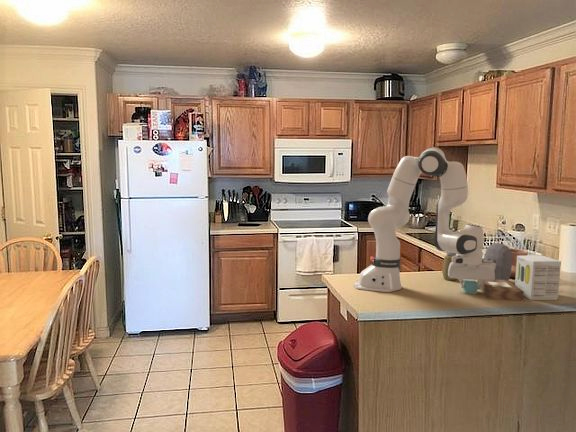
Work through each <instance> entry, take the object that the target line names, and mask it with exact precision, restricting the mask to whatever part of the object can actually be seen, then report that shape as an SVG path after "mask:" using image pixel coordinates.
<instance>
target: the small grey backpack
mask: <svg viewBox="0 0 576 432" xmlns="http://www.w3.org/2000/svg"><path fill="white" fill-rule="evenodd" d="M483 260H488V261H489V260H491V261H493V262H495V264H496V268H495V270H494V272H495V279H494V280H509V281H510V279H511V277H510V276H511V268H512V253H511V250H510V249H509V246H507V245H505V244H503V243H501V242H494V243H491V244H490V245H489V246H488V247H486V251H485V253H484V257H483Z"/></svg>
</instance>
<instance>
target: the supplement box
mask: <svg viewBox="0 0 576 432" xmlns="http://www.w3.org/2000/svg"><path fill="white" fill-rule="evenodd" d="M561 267H562V260H557V259H555V258H551V257H548V256H544V255H527V256H517V264H516V278H514V279H515V281H514V285H516V286H517V287H518V288H520V289H521V290H522V291H524V295H523V298H526V299H527V300H528V299H529V300H530V301H534V300H535V301H553V300H555V301H556V300H559V289H560V279H561V278H560V276H561Z"/></svg>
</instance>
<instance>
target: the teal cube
mask: <svg viewBox="0 0 576 432" xmlns="http://www.w3.org/2000/svg"><path fill="white" fill-rule="evenodd" d="M462 284H464V285H465V286H464V287H465V288H462V291H463V292H464V293H465V294H475V295H476V294H478V289H477V286H478V281H477V280H471V279H463V281H462Z"/></svg>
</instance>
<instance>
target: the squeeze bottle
mask: <svg viewBox="0 0 576 432" xmlns="http://www.w3.org/2000/svg"><path fill="white" fill-rule="evenodd" d="M453 256H457V254H456V253H451V252H446V255H444V259H443V263H442V264H443V265H442V269H441V272H442V276H443V279H444V280H446V281H455V280H457V279H456V278H449V276H448V269H449V265H450V263H451V262H452V257H453Z"/></svg>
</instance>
